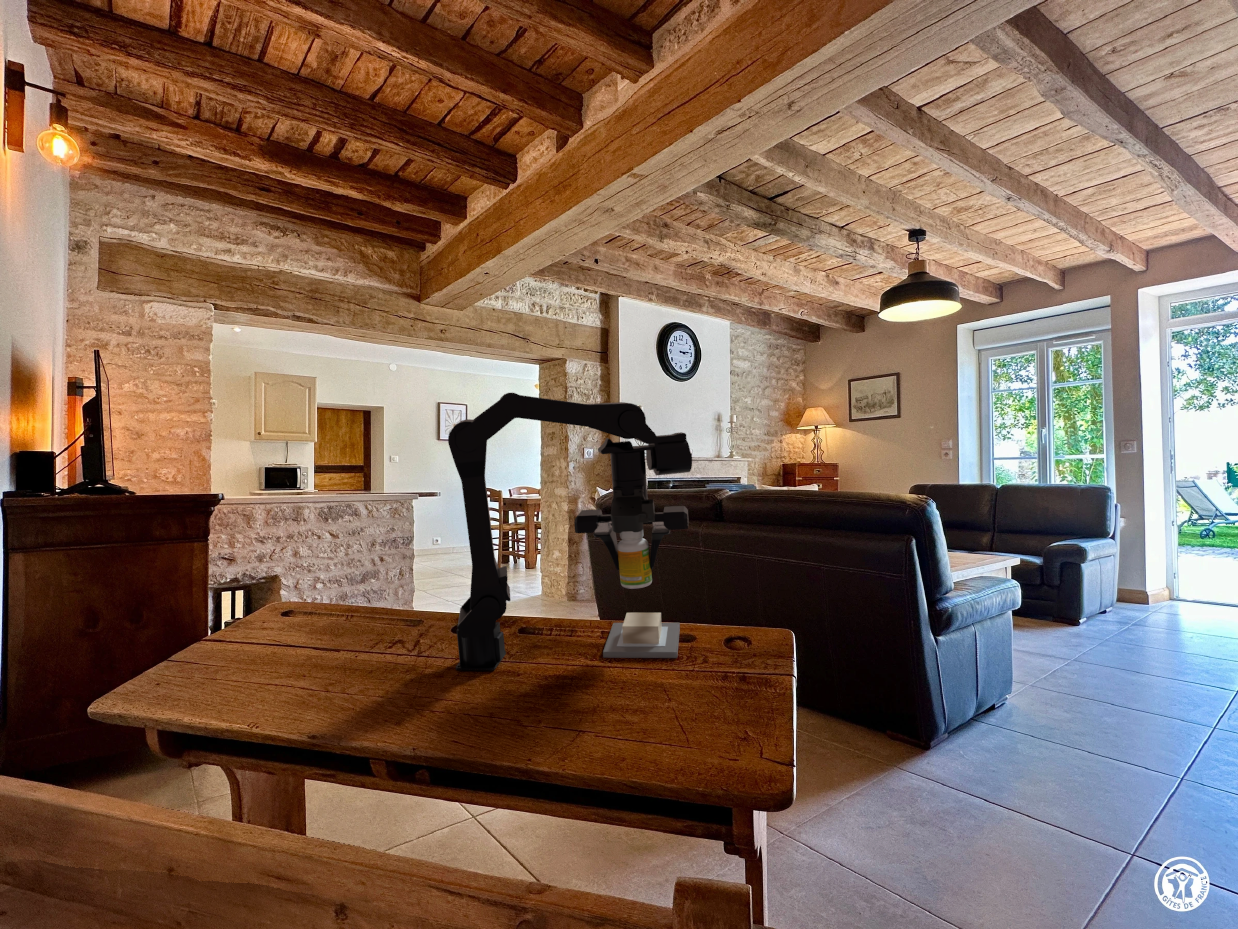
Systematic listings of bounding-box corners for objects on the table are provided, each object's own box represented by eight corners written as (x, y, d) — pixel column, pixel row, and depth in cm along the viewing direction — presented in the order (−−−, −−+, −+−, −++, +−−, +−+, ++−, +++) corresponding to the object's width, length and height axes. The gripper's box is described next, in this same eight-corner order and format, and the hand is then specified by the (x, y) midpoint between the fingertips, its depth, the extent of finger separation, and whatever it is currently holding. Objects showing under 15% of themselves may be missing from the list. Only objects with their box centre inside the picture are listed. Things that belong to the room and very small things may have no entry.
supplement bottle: (650, 589, 103) (644, 531, 102) (618, 590, 104) (612, 533, 103) (654, 578, 108) (649, 523, 107) (623, 579, 109) (618, 525, 108)
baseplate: (603, 657, 102) (603, 651, 102) (613, 628, 114) (613, 622, 113) (677, 658, 100) (676, 651, 100) (679, 628, 112) (679, 622, 112)
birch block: (623, 643, 104) (622, 626, 104) (627, 629, 110) (626, 612, 110) (659, 643, 103) (658, 626, 103) (661, 629, 109) (660, 612, 109)
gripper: (564, 490, 97) (572, 586, 99) (684, 484, 95) (690, 583, 97) (577, 477, 108) (584, 565, 110) (685, 472, 106) (690, 561, 108)
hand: (635, 569), depth 106 cm, fingers closed on supplement bottle, 5 cm apart
